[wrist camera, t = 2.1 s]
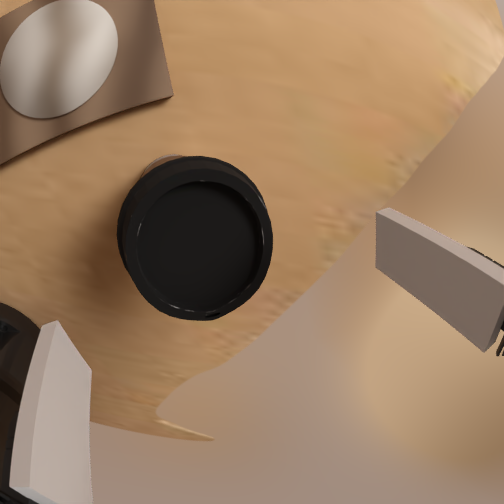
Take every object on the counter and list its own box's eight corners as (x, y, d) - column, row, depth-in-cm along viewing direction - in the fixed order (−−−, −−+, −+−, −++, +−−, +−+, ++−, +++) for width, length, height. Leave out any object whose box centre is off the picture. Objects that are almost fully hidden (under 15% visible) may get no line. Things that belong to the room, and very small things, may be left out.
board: (-5, 167, 20) (-13, 171, 18) (-27, 41, 13) (-35, 38, 12) (172, 96, 24) (174, 94, 22) (146, -32, 17) (147, -40, 15)
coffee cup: (135, 237, 28) (138, 340, 15) (120, 149, 24) (95, 181, 11) (220, 221, 30) (286, 305, 17) (212, 134, 26) (284, 152, 14)
